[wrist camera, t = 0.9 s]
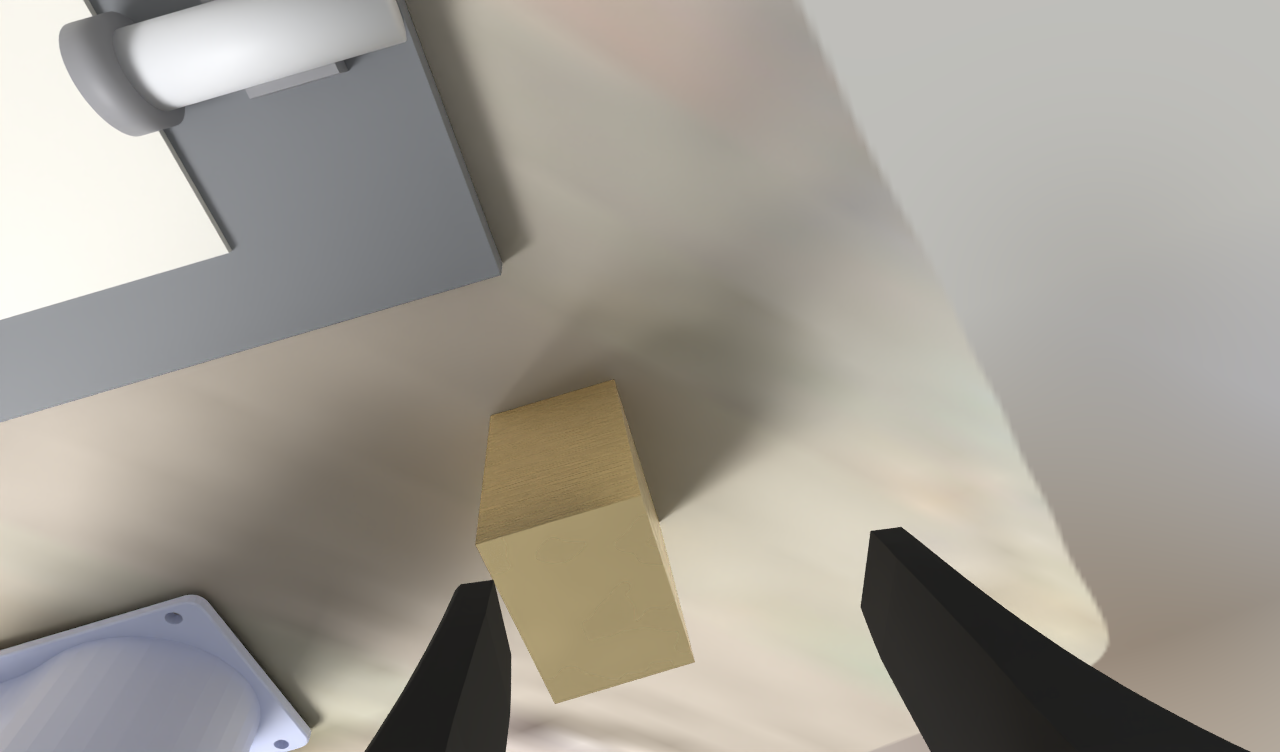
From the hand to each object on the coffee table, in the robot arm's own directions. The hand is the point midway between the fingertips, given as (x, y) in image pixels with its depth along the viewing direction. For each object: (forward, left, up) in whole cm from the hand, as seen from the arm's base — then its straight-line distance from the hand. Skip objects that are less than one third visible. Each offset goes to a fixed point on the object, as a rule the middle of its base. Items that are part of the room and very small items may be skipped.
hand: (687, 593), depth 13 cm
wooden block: (-2, -3, -9) cm, 10 cm away
